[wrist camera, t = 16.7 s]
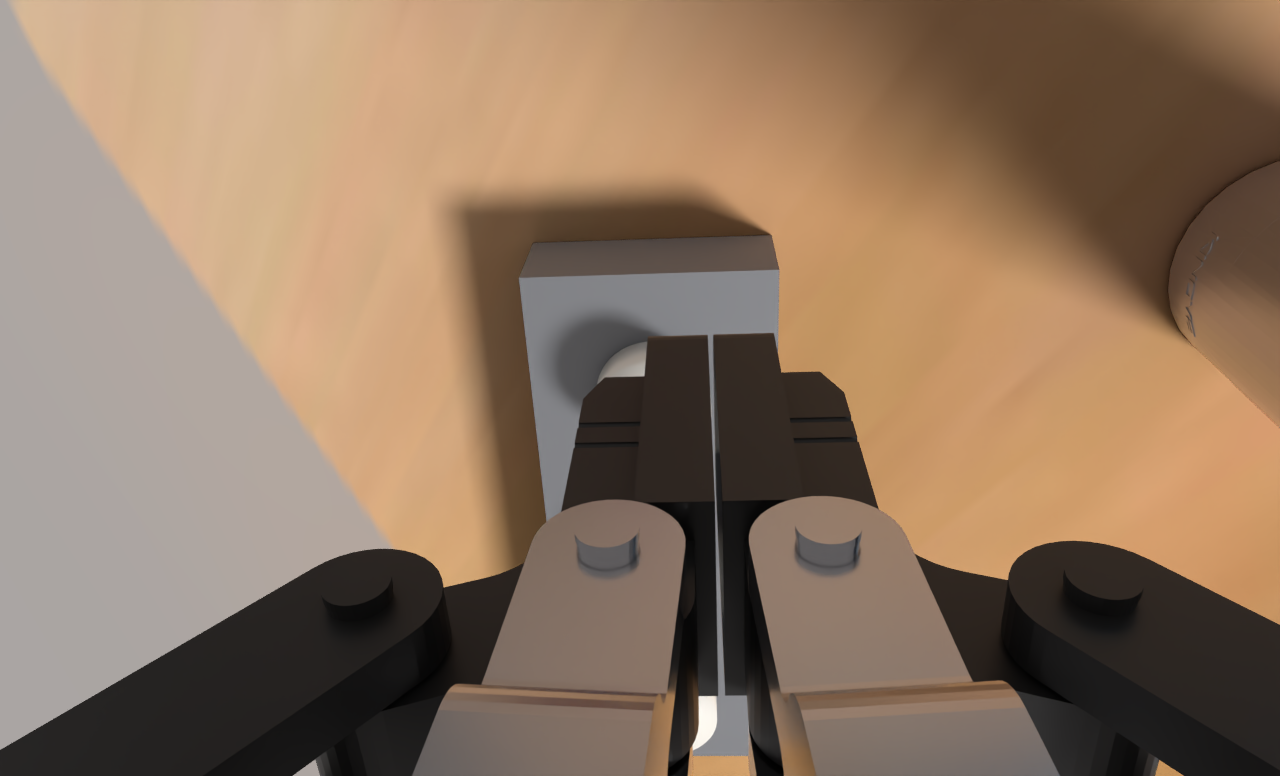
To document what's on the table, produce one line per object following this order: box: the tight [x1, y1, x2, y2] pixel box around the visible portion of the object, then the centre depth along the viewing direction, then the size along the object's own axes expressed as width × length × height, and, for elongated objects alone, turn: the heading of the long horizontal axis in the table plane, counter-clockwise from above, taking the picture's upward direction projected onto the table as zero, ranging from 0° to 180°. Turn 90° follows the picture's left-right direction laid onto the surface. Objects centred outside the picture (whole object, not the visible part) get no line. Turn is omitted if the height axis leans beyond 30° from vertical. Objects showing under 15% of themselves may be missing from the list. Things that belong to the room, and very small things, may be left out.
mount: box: [519, 235, 779, 756], centre depth 46 cm, size 10×26×4 cm, turn 3°
